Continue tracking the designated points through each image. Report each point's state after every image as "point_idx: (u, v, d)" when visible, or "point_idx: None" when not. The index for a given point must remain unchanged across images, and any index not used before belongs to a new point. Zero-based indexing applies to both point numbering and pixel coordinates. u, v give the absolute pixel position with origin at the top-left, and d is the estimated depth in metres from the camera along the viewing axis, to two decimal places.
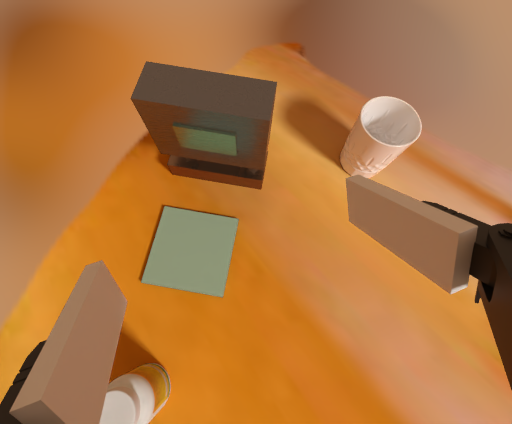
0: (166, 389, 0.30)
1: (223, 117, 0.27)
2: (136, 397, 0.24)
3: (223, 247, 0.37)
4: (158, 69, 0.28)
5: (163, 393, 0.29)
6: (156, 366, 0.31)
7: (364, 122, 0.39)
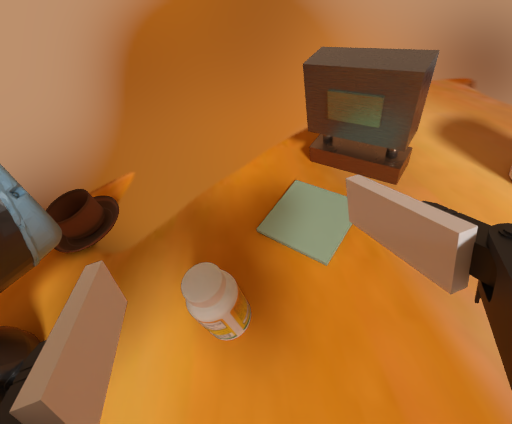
0: (245, 316, 0.29)
1: (376, 74, 0.30)
2: (225, 279, 0.25)
3: (341, 221, 0.36)
4: (329, 49, 0.35)
5: (243, 314, 0.28)
6: None
7: None
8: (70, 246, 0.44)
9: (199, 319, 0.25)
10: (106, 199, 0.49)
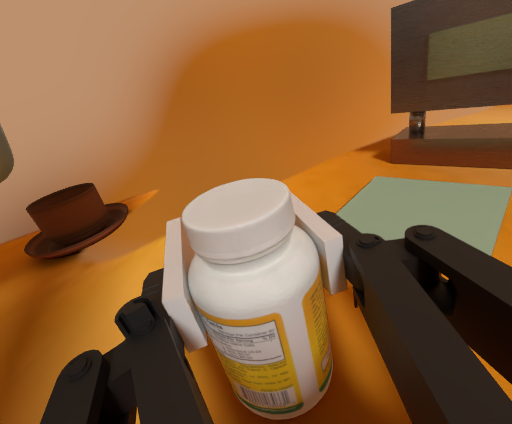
0: (327, 351, 0.12)
1: None
2: None
3: (481, 209, 0.20)
4: None
5: (324, 335, 0.11)
6: None
7: None
8: None
9: (216, 309, 0.09)
10: (117, 207, 0.38)
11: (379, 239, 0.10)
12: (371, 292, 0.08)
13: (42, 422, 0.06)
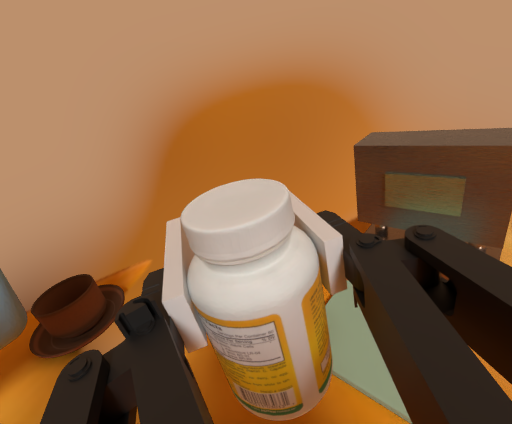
0: (327, 352, 0.12)
1: (453, 152, 0.24)
2: (292, 209, 0.10)
3: None
4: (382, 134, 0.32)
5: (324, 336, 0.11)
6: None
7: None
8: (51, 348, 0.34)
9: (215, 310, 0.09)
10: (114, 289, 0.42)
11: (378, 239, 0.10)
12: (371, 292, 0.08)
13: (42, 422, 0.06)
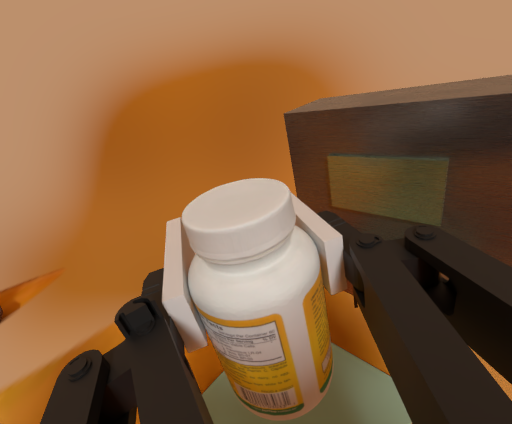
0: (328, 352, 0.11)
1: (426, 113, 0.14)
2: (293, 208, 0.10)
3: None
4: (331, 98, 0.21)
5: (324, 336, 0.11)
6: None
7: None
8: None
9: (216, 310, 0.09)
10: None
11: (379, 239, 0.10)
12: (371, 292, 0.08)
13: (42, 422, 0.06)
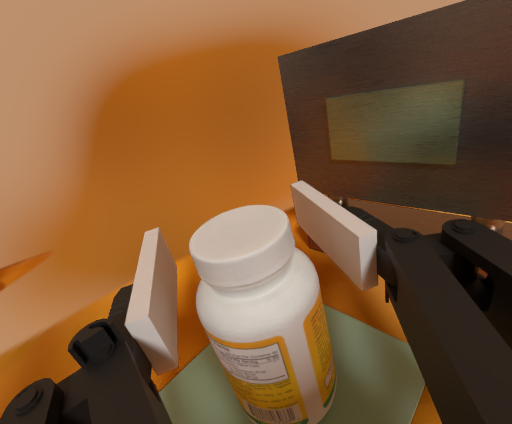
0: (330, 368, 0.12)
1: (438, 25, 0.12)
2: (292, 234, 0.11)
3: (373, 416, 0.12)
4: None
5: (326, 353, 0.11)
6: None
7: None
8: None
9: (222, 333, 0.09)
10: None
11: (416, 234, 0.09)
12: (405, 286, 0.08)
13: None
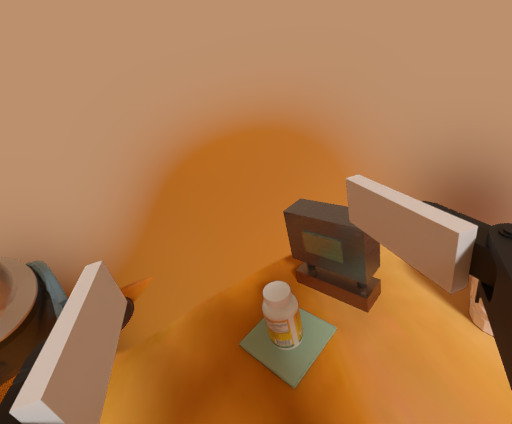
0: (301, 330, 0.40)
1: (332, 226, 0.39)
2: None
3: (313, 344, 0.40)
4: (305, 201, 0.47)
5: (299, 325, 0.39)
6: None
7: None
8: None
9: (272, 318, 0.37)
10: None
11: None
12: (506, 283, 0.07)
13: None
